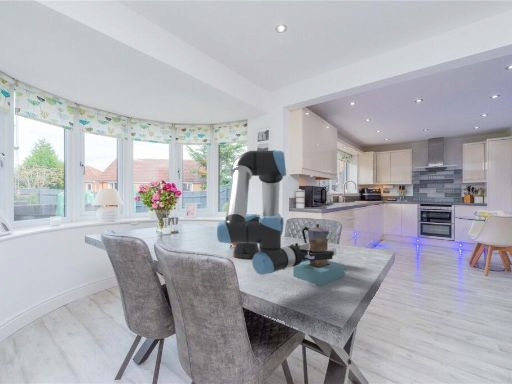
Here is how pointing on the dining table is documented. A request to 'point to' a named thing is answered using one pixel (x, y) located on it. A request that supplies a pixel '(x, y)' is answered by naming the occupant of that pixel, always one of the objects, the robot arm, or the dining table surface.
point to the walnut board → (319, 245)
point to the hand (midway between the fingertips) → (321, 248)
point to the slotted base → (319, 272)
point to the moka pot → (315, 233)
